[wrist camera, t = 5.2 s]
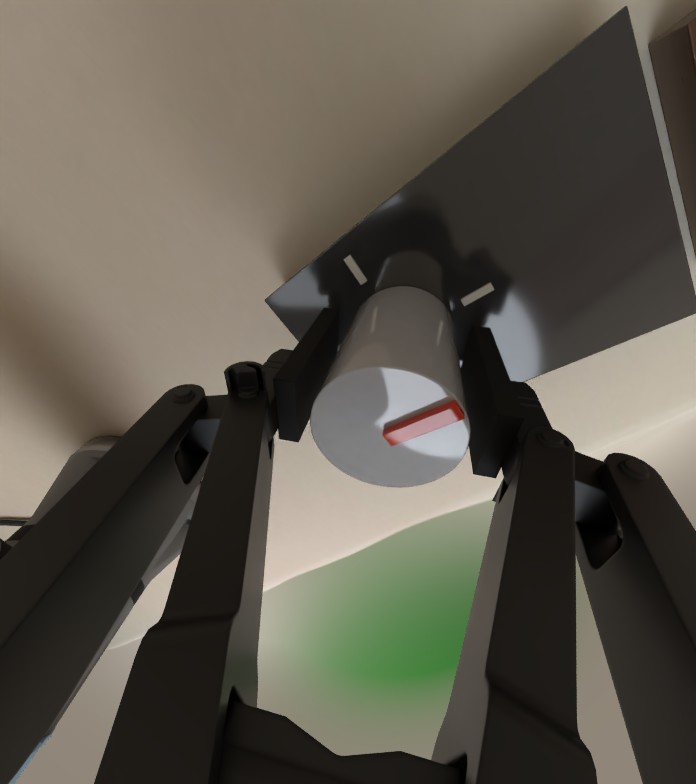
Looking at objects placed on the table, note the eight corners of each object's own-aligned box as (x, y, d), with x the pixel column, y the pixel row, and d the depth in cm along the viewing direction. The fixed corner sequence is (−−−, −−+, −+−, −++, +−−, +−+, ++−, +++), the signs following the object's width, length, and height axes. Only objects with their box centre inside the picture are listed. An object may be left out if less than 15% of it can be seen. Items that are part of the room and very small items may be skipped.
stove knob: (386, 393, 19) (366, 508, 12) (331, 321, 17) (275, 415, 11) (472, 352, 16) (501, 469, 10) (420, 262, 14) (415, 339, 8)
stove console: (384, 411, 23) (379, 441, 21) (284, 283, 19) (262, 301, 17) (658, 289, 16) (702, 313, 13) (586, 36, 12) (630, 1, 9)
